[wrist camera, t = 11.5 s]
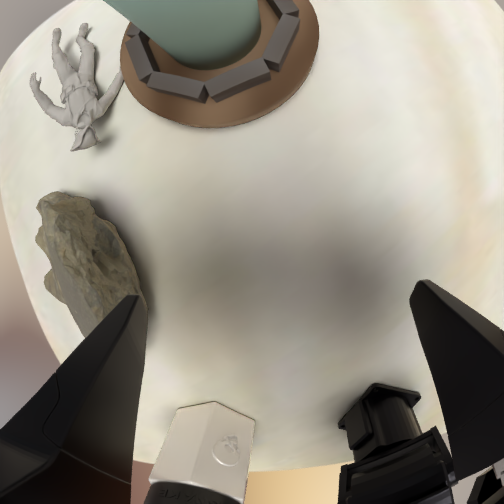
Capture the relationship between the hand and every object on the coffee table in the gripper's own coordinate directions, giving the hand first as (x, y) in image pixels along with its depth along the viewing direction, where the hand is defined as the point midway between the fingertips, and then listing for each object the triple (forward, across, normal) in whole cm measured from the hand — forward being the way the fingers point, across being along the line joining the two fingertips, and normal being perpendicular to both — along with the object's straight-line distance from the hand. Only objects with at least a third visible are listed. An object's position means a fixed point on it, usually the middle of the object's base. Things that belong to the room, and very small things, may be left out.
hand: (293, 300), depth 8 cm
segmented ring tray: (+15, +2, -9) cm, 17 cm away
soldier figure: (+16, +13, -7) cm, 22 cm away
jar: (+5, +4, +23) cm, 24 cm away
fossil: (+12, +12, +8) cm, 18 cm away
